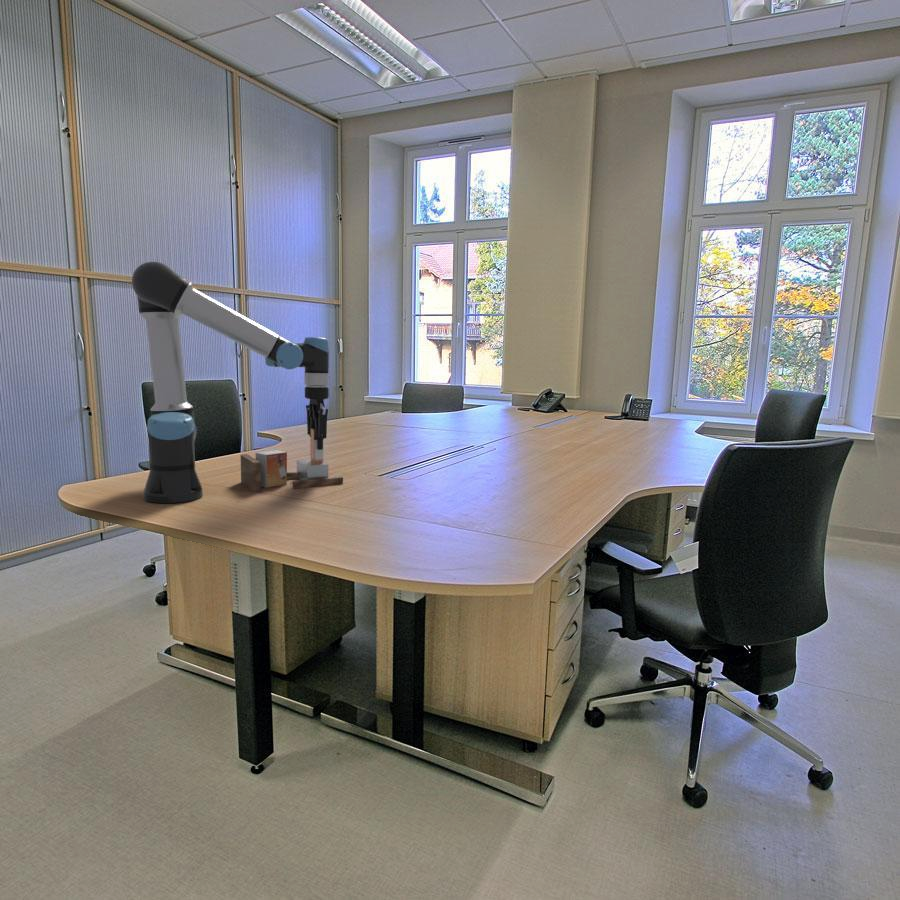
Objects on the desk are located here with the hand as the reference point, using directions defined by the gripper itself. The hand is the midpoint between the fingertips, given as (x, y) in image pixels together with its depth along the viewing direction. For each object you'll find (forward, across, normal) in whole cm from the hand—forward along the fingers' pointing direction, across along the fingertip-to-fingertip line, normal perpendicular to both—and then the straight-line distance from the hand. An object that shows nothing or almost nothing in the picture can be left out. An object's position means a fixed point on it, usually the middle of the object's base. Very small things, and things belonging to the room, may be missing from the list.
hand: (316, 458), depth 196 cm
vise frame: (+8, 0, +8) cm, 11 cm away
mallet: (+8, 0, +2) cm, 8 cm away
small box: (+8, 0, +15) cm, 17 cm away
